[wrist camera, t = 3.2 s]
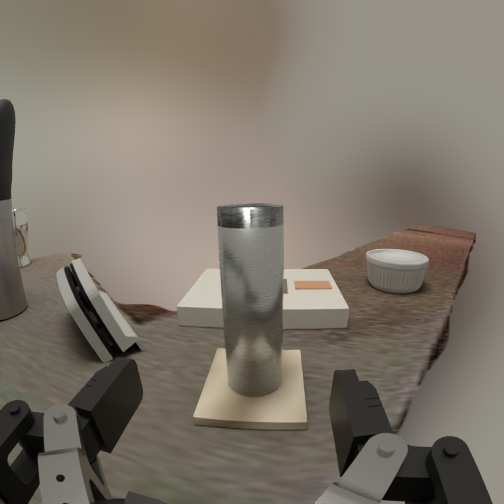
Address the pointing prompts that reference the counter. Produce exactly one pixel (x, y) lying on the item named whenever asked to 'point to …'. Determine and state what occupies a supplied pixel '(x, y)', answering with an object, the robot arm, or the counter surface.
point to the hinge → (95, 312)
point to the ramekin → (396, 270)
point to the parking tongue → (254, 399)
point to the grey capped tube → (252, 295)
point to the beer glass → (21, 236)
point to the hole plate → (294, 301)
